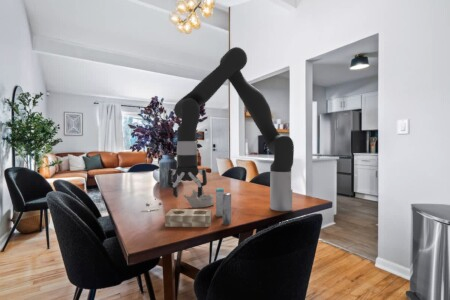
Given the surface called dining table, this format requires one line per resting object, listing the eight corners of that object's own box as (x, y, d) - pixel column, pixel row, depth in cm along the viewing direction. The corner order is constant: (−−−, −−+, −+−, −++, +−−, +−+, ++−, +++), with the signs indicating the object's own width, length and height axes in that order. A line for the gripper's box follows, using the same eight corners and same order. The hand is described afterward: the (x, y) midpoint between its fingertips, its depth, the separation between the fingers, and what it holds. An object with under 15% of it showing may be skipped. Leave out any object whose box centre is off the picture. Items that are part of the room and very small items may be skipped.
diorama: (142, 214, 101) (142, 206, 101) (145, 199, 127) (145, 193, 127) (164, 212, 104) (164, 204, 104) (163, 198, 130) (163, 192, 129)
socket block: (211, 219, 93) (211, 209, 92) (209, 226, 85) (209, 215, 84) (170, 219, 93) (170, 209, 93) (165, 226, 85) (165, 215, 85)
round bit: (231, 221, 90) (231, 193, 90) (231, 224, 87) (231, 194, 86) (222, 221, 90) (222, 193, 90) (222, 224, 87) (222, 194, 87)
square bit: (224, 214, 100) (224, 188, 100) (223, 216, 97) (223, 189, 97) (216, 214, 100) (216, 188, 100) (215, 216, 97) (215, 189, 97)
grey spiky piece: (211, 207, 107) (202, 186, 108) (190, 215, 110) (182, 195, 110) (218, 200, 120) (211, 181, 120) (200, 207, 122) (192, 189, 123)
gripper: (207, 153, 92) (207, 194, 92) (170, 153, 92) (171, 194, 93) (205, 153, 84) (205, 199, 85) (165, 154, 85) (166, 199, 85)
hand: (187, 196), depth 89 cm, fingers open, 8 cm apart
